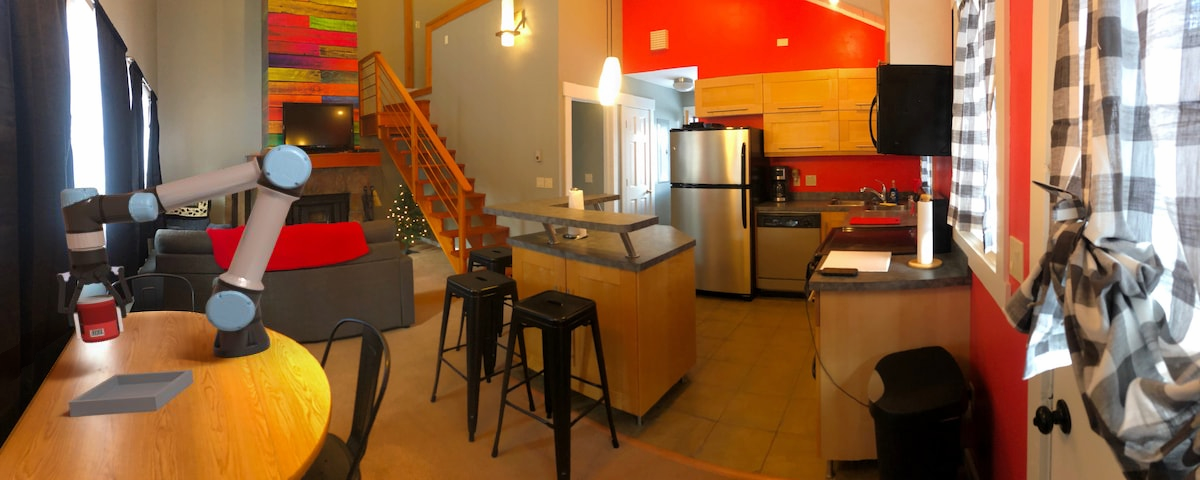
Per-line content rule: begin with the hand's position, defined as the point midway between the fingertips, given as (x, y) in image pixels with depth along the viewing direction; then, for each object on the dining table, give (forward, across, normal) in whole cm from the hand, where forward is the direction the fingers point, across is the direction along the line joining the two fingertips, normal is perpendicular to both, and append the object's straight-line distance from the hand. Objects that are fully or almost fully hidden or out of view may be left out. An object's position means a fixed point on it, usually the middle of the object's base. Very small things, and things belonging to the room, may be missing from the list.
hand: (100, 333), depth 164 cm
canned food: (+2, 0, 0) cm, 2 cm away
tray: (+13, -5, +20) cm, 25 cm away
